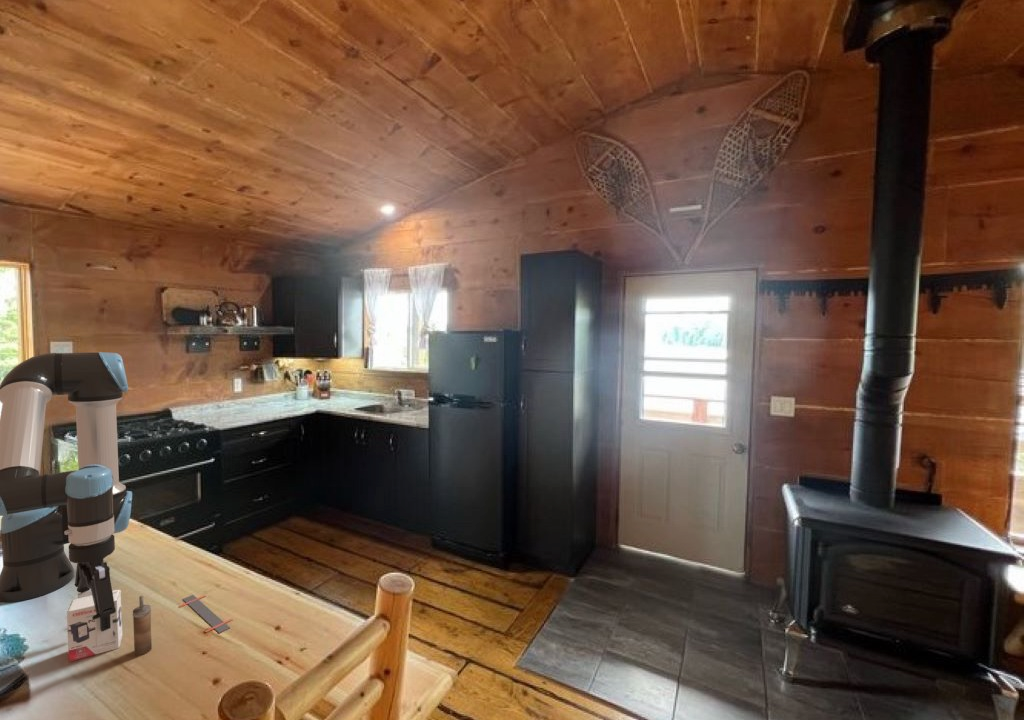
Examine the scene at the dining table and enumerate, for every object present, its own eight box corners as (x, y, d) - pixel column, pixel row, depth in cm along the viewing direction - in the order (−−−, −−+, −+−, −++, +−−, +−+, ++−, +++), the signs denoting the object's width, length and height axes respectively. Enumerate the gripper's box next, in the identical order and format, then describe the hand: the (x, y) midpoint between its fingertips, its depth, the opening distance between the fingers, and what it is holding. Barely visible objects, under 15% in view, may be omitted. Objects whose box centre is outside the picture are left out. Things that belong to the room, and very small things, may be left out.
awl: (132, 651, 102) (130, 596, 101) (149, 644, 105) (147, 590, 104) (136, 658, 100) (134, 601, 99) (153, 650, 103) (152, 595, 102)
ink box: (67, 663, 98) (65, 611, 98) (73, 649, 103) (71, 599, 102) (119, 648, 103) (117, 599, 102) (123, 635, 107) (121, 588, 106)
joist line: (174, 602, 120) (174, 602, 120) (200, 592, 125) (200, 591, 125) (210, 637, 108) (210, 636, 108) (237, 624, 112) (237, 623, 112)
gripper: (55, 529, 105) (59, 617, 106) (84, 563, 91) (88, 664, 92) (97, 518, 111) (101, 602, 113) (131, 548, 97) (135, 643, 98)
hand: (95, 630), depth 102 cm, fingers open, 13 cm apart
